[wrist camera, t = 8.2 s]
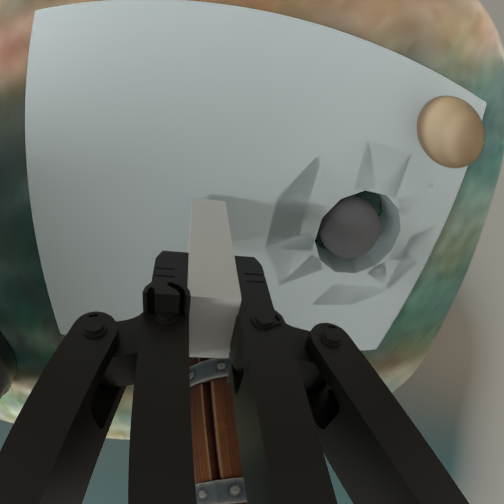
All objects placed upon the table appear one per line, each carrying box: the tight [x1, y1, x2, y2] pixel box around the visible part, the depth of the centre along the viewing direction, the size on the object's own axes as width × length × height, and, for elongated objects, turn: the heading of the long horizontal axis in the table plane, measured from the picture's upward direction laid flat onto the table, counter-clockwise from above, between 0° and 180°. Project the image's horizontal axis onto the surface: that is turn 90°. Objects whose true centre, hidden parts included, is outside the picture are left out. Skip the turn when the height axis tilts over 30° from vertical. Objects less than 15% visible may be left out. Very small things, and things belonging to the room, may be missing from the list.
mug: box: [189, 352, 247, 504], centre depth 22 cm, size 16×11×15 cm
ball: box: [318, 195, 380, 258], centre depth 17 cm, size 4×4×4 cm
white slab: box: [25, 0, 487, 351], centre depth 17 cm, size 24×20×2 cm
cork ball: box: [417, 96, 485, 168], centre depth 12 cm, size 4×4×4 cm
